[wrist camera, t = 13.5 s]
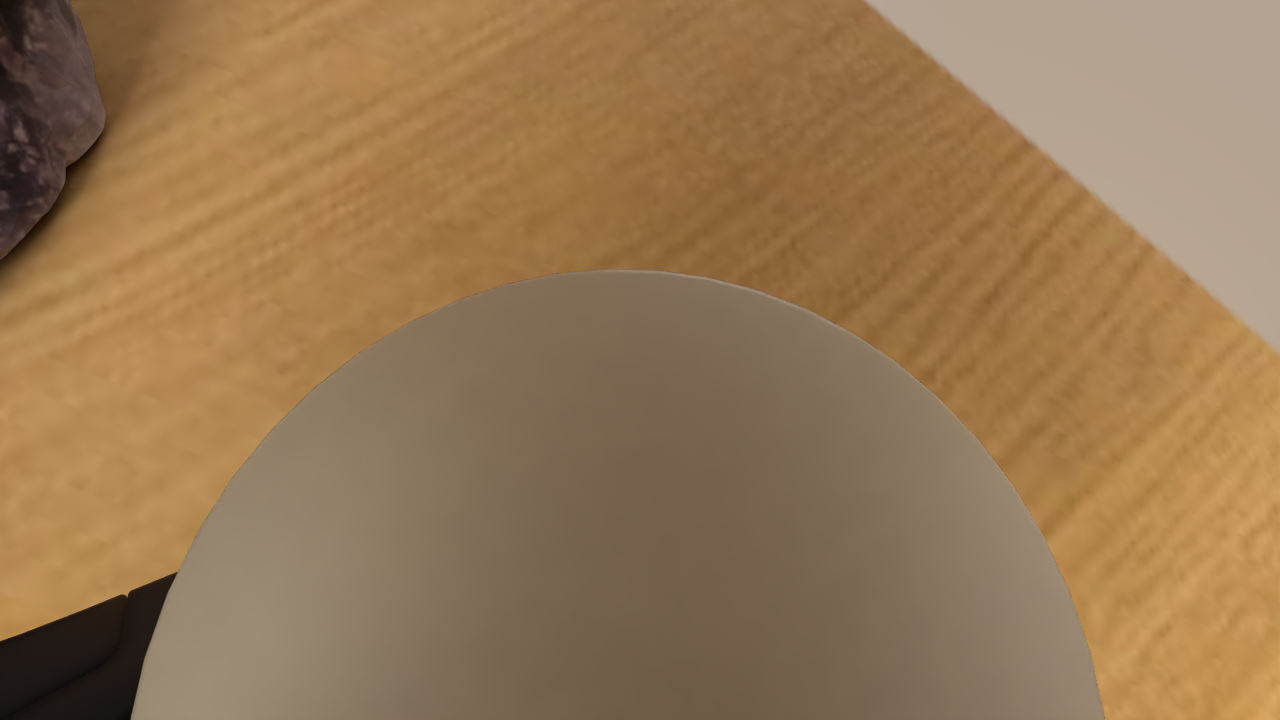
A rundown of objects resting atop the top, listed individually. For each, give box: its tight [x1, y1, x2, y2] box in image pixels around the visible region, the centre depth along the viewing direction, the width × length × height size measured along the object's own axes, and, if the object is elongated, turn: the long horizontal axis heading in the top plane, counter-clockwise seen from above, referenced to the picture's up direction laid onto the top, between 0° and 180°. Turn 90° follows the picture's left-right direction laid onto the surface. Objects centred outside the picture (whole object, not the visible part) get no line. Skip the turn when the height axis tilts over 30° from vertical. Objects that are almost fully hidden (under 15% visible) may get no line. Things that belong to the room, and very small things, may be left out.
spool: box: [131, 269, 1105, 720], centre depth 9 cm, size 6×6×9 cm
